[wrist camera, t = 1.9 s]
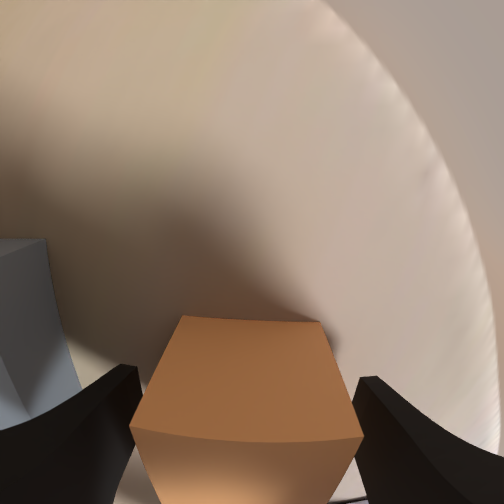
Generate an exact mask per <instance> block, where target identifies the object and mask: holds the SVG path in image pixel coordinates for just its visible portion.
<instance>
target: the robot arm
mask: <svg viewBox="0 0 504 504" xmlns="http://www.w3.org/2000/svg"><path fill="white" fill-rule="evenodd" d="M142 397H143V393H142V388H141V384H140V379H139V374H138V369H137V367H136V366H130V365H125V364H119V365H118V366H116V367H115V368H113V369H112V370H110V371H109V372H107V373H106V374H105V375H103V376H102V377H100V378H99V379H98V380H96V381H95V382H93V383H92V384H90V385H89V386H87V387H86V388H85V389H83V390H82V391H80V392H79V393H77V394H76V395H74V396H73V397H71V398H69V399H68V400H66V401H64V402H63V403H61V404H59V405H58V406H56V407H54V408H53V409H51V410H49V411H47V412H45V413H43V414H41V415H39V416H37V417H35V418H33V419H30V420H28V421H26V422H23V423H21V424H18V425H15V426H12V427H9V428H6V429H3V430H0V504H113V501H114V497H115V494H116V490H117V487H118V485H119V482H120V479H121V477H122V475H123V472H124V470H125V468H126V465H127V463H128V461H129V458H130V456H131V454H132V451H133V449H134V447H135V441H134V438H133V435H132V433H131V430H130V427H129V425H130V423H131V420H132V418H133V416H134V414H135V412H136V410H137V407H138V405H139V403H140V401H141V399H142ZM352 405H353V408H354V410H355V413H356V416H357V418H358V421H359V424H360V427H361V429H362V432H363V435H364V438H363V440H362V442H361V444H360V446H359V448H358V450H357V452H356V454H355V456H354V457H355V460H356V463H357V466H358V469H359V472H360V475H361V479H362V482H363V485H364V488H365V491H366V495H367V499H368V500H364V501H359V502H353V503H348V504H504V457H502V456H499V455H495V454H493V453H490V452H488V451H485V450H483V449H480V448H478V447H476V446H474V445H472V444H470V443H468V442H466V441H464V440H462V439H460V438H458V437H457V436H455V435H453V434H451V433H450V432H448V431H447V430H445V429H444V428H442V427H441V426H439V425H438V424H436V423H435V422H433V421H432V420H431V419H429V418H428V417H427V416H425V415H424V414H423V413H421V412H420V411H419V410H418V409H416V408H415V407H414V406H413V405H411V404H410V403H409V402H408V401H406V400H405V399H404V398H403V397H402V396H401V395H399V394H398V393H397V392H396V391H395V390H393V389H392V388H391V387H390V386H389V385H388V384H386V383H385V382H384V381H383V380H381V379H380V378H379V377H378V376H369V377H360V379H359V382H358V385H357V388H356V391H355V395H354V398H353V400H352Z"/></svg>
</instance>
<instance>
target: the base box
mask: <svg viewBox="0 0 504 504" xmlns="http://www.w3.org/2000/svg"><path fill="white" fill-rule="evenodd" d="M80 391H82V387H81V385H80V382H79V379H78V376H77V374H76V371H75V368H74V365H73V362H72V359H71V356H70V352H69V349H68V346H67V342H66V339H65V335H64V332H63V328H62V324H61V320H60V316H59V312H58V308H57V303H56V299H55V294H54V289H53V284H52V278H51V272H50V266H49V260H48V253H47V245H46V239H0V430H3V429H6V428H9V427H12V426H15V425H18V424H21V423H23V422H26V421H28V420H30V419H33V418H35V417H37V416H39V415H41V414H43V413H45V412H47V411H49V410H51V409H53V408H54V407H56V406H58V405H59V404H61V403H63V402H64V401H66V400H68V399H69V398H71V397H73V396H74V395H76V394H77V393H79V392H80Z"/></svg>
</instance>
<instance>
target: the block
mask: <svg viewBox="0 0 504 504" xmlns="http://www.w3.org/2000/svg"><path fill="white" fill-rule="evenodd" d="M129 427H130V430H131V433H132V435H133V438H134V441H135V444H136V446H137V449H138V451H139V454H140V457H141V459H142V462H143V464H144V466H145V469H146V471H147V473H148V476H149V478H150V480H151V483H152V485H153V487H154V489H155V491H156V493H157V495H158V498H159V500H160V502H161V504H327V503H328V501H329V500H330V498H331V497H332V495H333V493H334V492H335V490H336V488H337V487H338V485H339V483H340V481H341V480H342V478H343V476H344V474H345V473H346V471H347V469H348V467H349V465H350V463H351V462H352V460H353V458H354V456H355V454H356V452H357V450H358V448H359V446H360V444H361V442H362V440H363V438H364V435H363V432H362V429H361V427H360V424H359V421H358V418H357V416H356V413H355V410H354V408H353V405H352V402H351V400H350V397H349V394H348V392H347V389H346V386H345V384H344V381H343V379H342V376H341V373H340V371H339V368H338V366H337V363H336V361H335V358H334V356H333V353H332V350H331V348H330V345H329V343H328V341H327V338H326V336H325V333H324V331H323V328H322V326H321V323H320V322H287V321H259V320H239V319H222V318H208V317H195V316H183V315H182V317H181V319H180V321H179V323H178V325H177V327H176V329H175V331H174V333H173V335H172V337H171V339H170V341H169V343H168V345H167V347H166V349H165V351H164V353H163V355H162V357H161V359H160V361H159V363H158V366H157V368H156V370H155V372H154V374H153V376H152V378H151V380H150V382H149V384H148V386H147V388H146V390H145V393H144V395H143V397H142V399H141V401H140V403H139V405H138V407H137V410H136V412H135V414H134V416H133V418H132V420H131V423H130V425H129Z"/></svg>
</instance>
